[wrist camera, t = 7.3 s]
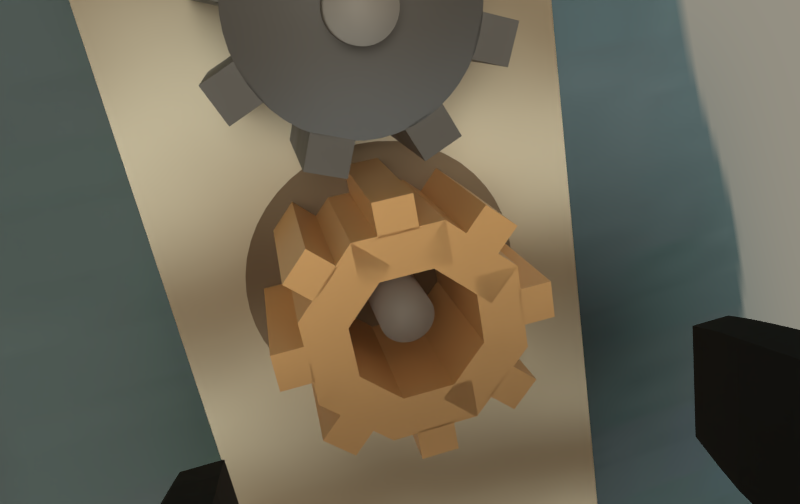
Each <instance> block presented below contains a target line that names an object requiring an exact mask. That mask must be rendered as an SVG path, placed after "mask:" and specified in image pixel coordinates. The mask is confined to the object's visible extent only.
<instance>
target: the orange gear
mask: <svg viewBox="0 0 800 504" xmlns="http://www.w3.org/2000/svg"><path fill="white" fill-rule="evenodd" d="M346 180H347V184H348V189H349V193H345V194H341V195H336V196H332V197H328V198H327V199H326V201H325V202H324V204H323V206H322V207H321V209H320V210H319V212H318V213H317V215H316V216H315V215H314V214H312V213H310V212H308V211H307V210H305V209H303V208H302V207H300V206H298V205H297V204H295V203H293V202H291V204H290V205H289V207H288V208H287V210H286V211H285V213H284V215H283V216H282V218H281V219H280V221H279V222H278V224H277V225H276V227H275V229H274V230H273V232H274V238H275V244H276V250H277V256H278V263H279V269H280V275H281V281H282V284H280V285H276V286H272V287H268V288H264V295H265V306H266V317H267V329H268V340H269V351H270V358H271V361H272V365H273V369H274V372H275V376H276V379H277V383H278V386H279V390H280V392H282V391H286V390H289V389H293V388H297V387H300V386H304V385H308V384H311V383H312V387H313V392H314V397H315V402H316V407H317V412H318V417H319V422H320V427H321V433H322V438H323V441H325V442H327V443H329V444H331V445H334V446H336V447H338V448H340V449H342V450H345V451H347V452H349V453H351V454H353V455H357V454H358V452H359V451H360V449H361V448H362V447H363V445H364V444H365V442H366V441H367V439H368V438H369V437H370V435H371V434H372V432H373V431H375V432H377V433H379V434H381V435H383V436H385V437H388V438H390V439H392V440H393V441H394V440H397V439H401V438H404V437H407V436H411V435H413V437H414V439H415V442H416V444H417V447H418V449H419V451H420V454H421V456H422V459H424V458H428V457H431V456H435V455H438V454H441V453H445V452H448V451H451V450H455V449H458V448H459V447H458V441H457V436H456V430H455V425H454V423H455V422H459V421H462V420H466V419H469V418H472V417H476V416H478V414H479V413H480V412H481V410H482V409H483V408H484V406H485V405H486V403H487V402H488V401H489V399H490V398H491V397H492V398H494V399H496V400H498V401H500V402H502V403H504V404H505V405H507V406H509V407H511V408H513V409H515V408H516V406H517V405H518V404H519V402H520V401H521V400H522V398H523V397H524V396H525V394H526V393H527V392H528V390H529V389H530V387H531V386H532V385H533V383H534V382H535V381H536V378H535V377H534V376H533V375H532V374H531V372H530V371H529V370H528V369H527V368H526V366H525V365H524V364H523V363H522V362H521V360H520V359H519V358H520V357H521V355H522V354H523V353H524V351H525V350H526V349H527V347H528V344H527V336H526V328H525V325H526V324H530V323H534V322H537V321H541V320H545V319H548V318H552V317H555V315H554V305H553V296H552V287H551V281H550V280H549V279H547V278H546V277H545V276H544V275H543V274H541V273H540V272H539V271H538V270H537V269H535V268H534V267H533V266H532V265H531V264H529V263H528V262H527V261H526V260H525V259H523V258H522V257H521V256H520V255H518V254H517V253H516V252H515V251H514V250H512V249H511V248H510V247H509V246H508V245H506V244H505V243H506V242H507V240H508V239H509V237H510V236H511V235H512V233H513V232H514V230H515V229H516V227H517V225H516V224H514V223H513V222H512V221H510V220H509V219H508V218H506V217H505V216H503V215H502V214H501V213H499V212H498V211H497V210H495V209H494V208H492V207H491V206H490V205H488V204H487V203H486V202H484V201H483V200H481V199H480V198H479V197H477V196H476V195H475V194H473V193H472V192H470V191H469V190H468V189H466V188H465V187H464V186H462V185H461V184H459V183H458V182H456V181H455V180H453V179H452V178H450V177H449V176H447V175H446V174H444V173H443V172H441V171H440V170H438V169H437V168H436V169H435V170H434V172H433V173H432V175H431V176H430V178H429V179H428V181H427V182H426V184H425V185H424V187H423V188H422V190H421V191H420V190H418V189H417V188H415V187H414V186H412V185H411V184H409V183H408V182H406V181H405V180H400V179H398V178H397V177H396V176H395V175H394V174H393V173H392V172H391V171H390V170H389V169H388V168H387V167H386V166H385V165H384V164H383V163H382V162H381V161H380V160H379V159H378V158H374V159H370V160H365V161H361V162H356V163H352V164H351V166H350V171H349V176H348V179H346ZM431 269H435V270H436V276H437V282H436V284H435V285H434V287H433V288H432V290H431V291H430V293H429V294H428V295H427V296H428V297H429V299H430V300H431V302H432V304H433V307H434V312H435V314H434V321H433V324H432V326H431V327H430V329H429V330H428V332H427V333H426V334H425V335H423V336H422V337H421V338H419V339H417V340H415V341H412V342H397V341H394V340H392V339H390V338H388V337H387V336H386V335H385V334H384V333H383V331H382V329H381V327H380V325H377V326H373V327H372V326H370V325H368V324H366V323H364V322H362V321H361V320H359V319H357V318H356V317H357V315H358V314H359V312H360V311H361V309H362V308H363V306H364V305H365V303H366V302H367V300H368V299H369V297H370V296H371V294H372V293H373V291H374V290H375V289H376V287H377V286H378V284H379V283H380V282H384V281H388V280H391V279H395V278H399V277H403V276H407V275H411V274H415V273H419V272H423V271H427V270H431Z"/></svg>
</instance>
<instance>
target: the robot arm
mask: <svg viewBox="0 0 800 504" xmlns="http://www.w3.org/2000/svg"><path fill="white" fill-rule="evenodd" d="M693 354H694V391H695V427H696V437H697V439H698V440H699V441H700V443H701V444H702V445H703V446H704V448H705V449H706V450H707V452H708V453H709V454H710V455H711V457H712V458H713V459H714V461H715V462H716V463H717V464H718V466H719V467H720V468H721V469H722V471H723V472H724V473H725V474H726V475H727V477H728V478H729V479H730V480H731V481H732V483H733V484H734V485H735V486H736V487H737V488H738V490H739V491H740V492H741V493H742V494H743V495H744V496H745V497H746V498H747V499H748V500H749V501H750V502H751V503H752V504H800V330H797V329H793V328H789V327H785V326H780V325H776V324H771V323H767V322H762V321H757V320H752V319H747V318H740V317H734V316H725V317H722V318H718V319H715V320H711V321H708V322H704V323H701V324H697V325H694V326H693ZM161 504H239V503H238V500H237V497H236V494H235V490H234V487H233V484H232V481H231V478H230V475H229V472H228V469H227V466H226V463H225V460H221V461H217V462H214V463H210V464H207V465H203V466H200V467H196V468H193V469H189V470H186V471H182V472H180V473H179V474H178V476H177V478H176V479H175V481H174V482H173V484H172V486H171V487H170V489H169V491H168V492H167V494H166V496H165V497H164V499H163V501H162V503H161Z"/></svg>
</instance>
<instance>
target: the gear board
mask: <svg viewBox="0 0 800 504" xmlns="http://www.w3.org/2000/svg"><path fill="white" fill-rule="evenodd" d="M69 2H70V5H71V8H72V11H73V14H74V17H75V20H76V23H77V26H78V29H79V32H80V35H81V38H82V41H83V44H84V47H85V50H86V53H87V56H88V59H89V62H90V65H91V68H92V71H93V74H94V77H95V80H96V83H97V86H98V89H99V92H100V95H101V98H102V101H103V104H104V107H105V110H106V113H107V116H108V119H109V122H110V125H111V128H112V131H113V134H114V137H115V140H116V143H117V146H118V149H119V152H120V155H121V158H122V161H123V164H124V167H125V170H126V173H127V176H128V179H129V182H130V185H131V188H132V191H133V194H134V197H135V200H136V203H137V206H138V209H139V212H140V215H141V218H142V222H143V225H144V228H145V231H146V234H147V237H148V240H149V243H150V246H151V249H152V252H153V255H154V258H155V261H156V264H157V267H158V270H159V273H160V276H161V279H162V282H163V285H164V288H165V291H166V294H167V297H168V300H169V303H170V306H171V309H172V312H173V315H174V318H175V321H176V324H177V327H178V330H179V333H180V336H181V339H182V342H183V345H184V348H185V351H186V354H187V357H188V360H189V363H190V366H191V369H192V372H193V375H194V378H195V381H196V384H197V387H198V390H199V393H200V396H201V399H202V402H203V405H204V408H205V411H206V414H207V417H208V420H209V423H210V426H211V429H212V432H213V435H214V438H215V441H216V444H217V447H218V451H219V454H220V457H221V460H225V463H226V466H227V469H228V472H229V475H230V478H231V481H232V484H233V487H234V490H235V494H236V497H237V500H238V503H239V504H597V495H596V484H595V473H594V462H593V451H592V440H591V429H590V419H589V408H588V397H587V386H586V375H585V364H584V353H583V342H582V331H581V321H580V310H579V299H578V288H577V277H576V266H575V255H574V244H573V233H572V222H571V212H570V201H569V190H568V179H567V168H566V157H565V146H564V135H563V124H562V113H561V103H560V92H559V81H558V70H557V59H556V48H555V37H554V26H553V15H552V4H551V0H69ZM374 158H378V159H379V160H380V161H381V162H382V163H383V164H384V165H385V166H386V167H387V168H388V169H389V170H390V171H391V172H392V173H393V174H394V175H395V176H396V177H397V178H398V179H400V180H405V181H406V182H408V183H409V184H411V185H412V186H414V187H415V188H417V189H418V190H420V191H421V190H422V188H423V187H424V185H425V184H426V182H427V181H428V179H429V178H430V176H431V175H432V173H433V172H434V170H435V169H436V168H437V169H438V170H440V171H441V172H443V173H444V174H446V175H447V176H449V177H450V178H452V179H453V180H455V181H456V182H458V183H459V184H461V185H462V186H464V187H465V188H466V189H468V190H469V191H470V192H472V193H473V194H475V195H476V196H477V197H479V198H480V199H481V200H483V201H484V202H486V203H487V204H488V205H490V206H491V207H492V208H494V209H495V210H497V211H498V212H499V213H501V214H502V215H503V216H505V217H506V218H508V219H509V220H510V221H512V222H513V223H514V224H516V225H517V227H516V229H515V230H514V232H513V233H512V235H511V236H510V237H509V239H508V240H507V242H506V243H505V244H506V245H508V246H509V247H510V248H511V249H512V250H514V251H515V252H516V253H517V254H518V255H520V256H521V257H522V258H523V259H525V260H526V261H527V262H528V263H529V264H531V265H532V266H533V267H534V268H535V269H537V270H538V271H539V272H540V273H541V274H543V275H544V276H545V277H546V278H547V279H549V280H550V281H551V287H552V296H553V305H554V315H555V317H552V318H548V319H545V320H541V321H537V322H534V323H530V324H526V325H525V328H526V336H527V344H528V347H527V349H526V350H525V351H524V353H523V354H522V355H521V357H520V358H519V359H520V360H521V362H522V363H523V364H524V365H525V366H526V368H527V369H528V370H529V371H530V372H531V374H532V375H533V376H534V377H535V378H536V381H535V382H534V383H533V385H532V386H531V387H530V389H529V390H528V392H527V393H526V394H525V396H524V397H523V398H522V400H521V401H520V402H519V404H518V405H517V406H516V408H515V409H513V408H511V407H509V406H507V405H505V404H504V403H502V402H500V401H498V400H496V399H494V398H492V397H491V398H490V399H489V401H488V402H487V403H486V405H485V406H484V408H483V409H482V410H481V412H480V413H479V414H478V416H476V417H472V418H469V419H466V420H462V421H459V422H455V423H454V425H455V430H456V436H457V441H458V447H459V448H458V449H455V450H451V451H448V452H445V453H441V454H438V455H435V456H431V457H428V458H424V459H422V456H421V454H420V451H419V449H418V447H417V444H416V442H415V439H414V437H413V435H411V436H407V437H404V438H401V439H397V440H394V441H393V440H392V439H390V438H388V437H385V436H383V435H381V434H379V433H377V432H375V431H373V432H372V434H371V435H370V437H369V438H368V439H367V441H366V442H365V444H364V445H363V447H362V448H361V449H360V451H359V452H358V454H357V455H353V454H351V453H349V452H347V451H345V450H342V449H340V448H338V447H336V446H334V445H331V444H329V443H327V442H325V441H323V438H322V433H321V427H320V422H319V417H318V412H317V407H316V402H315V397H314V392H313V387H312V383H311V384H308V385H304V386H300V387H297V388H293V389H289V390H286V391H282V392H280V390H279V386H278V383H277V379H276V376H275V372H274V369H273V365H272V361H271V358H270V351H269V340H268V329H267V317H266V306H265V295H264V288H268V287H272V286H276V285H280V284H282V281H281V275H280V269H279V263H278V256H277V250H276V244H275V238H274V232H273V230H274V229H275V227H276V225H277V224H278V222H279V221H280V219H281V218H282V216H283V215H284V213H285V211H286V210H287V208H288V207H289V205H290V204H291V202H293V203H295V204H297V205H298V206H300V207H302V208H303V209H305V210H307V211H308V212H310V213H312V214H314V215H315V216H316V215H317V213H318V212H319V210H320V209H321V207H322V206H323V204H324V202H325V201H326V199H327V198H328V197H332V196H336V195H341V194H345V193H349V189H348V184H347V180H346V179H348V176H349V171H350V166H351V164H352V163H356V162H361V161H365V160H370V159H374ZM436 282H437V276H436V270H435V269H431V270H427V271H423V272H419V273H415V274H411V275H407V276H403V277H399V278H395V279H391V280H388V281H384V282H380V283H379V284H378V286H377V287H376V289H375V290H374V291H373V293H372V294H371V296H370V297H369V299H368V300H367V302H366V303H365V305H364V306H363V308H362V309H361V311H360V312H359V314H358V315H357V317H356V318H357V319H359V320H361V321H362V322H364V323H366V324H368V325H370V326H372V327H373V326H377V325H380V327H381V329H382V331H383V333H384V334H385V335H386V336H387V337H388V338H390V339H392V340H394V341H397V342H412V341H415V340H417V339H419V338H421V337H422V336H423V335H425V334H426V333H427V332H428V330H429V329H430V327H431V326H432V324H433V321H434V314H435V312H434V307H433V304H432V302H431V300H430V299H429V297H428V296H427V295H428V294H429V293H430V291H431V290H432V288H433V287H434V285H435V284H436Z"/></svg>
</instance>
